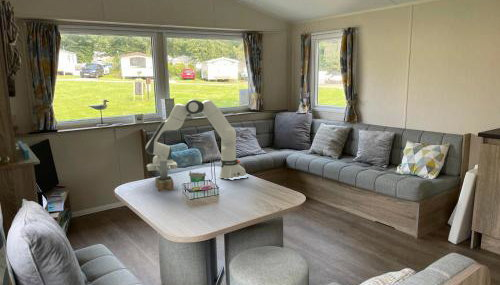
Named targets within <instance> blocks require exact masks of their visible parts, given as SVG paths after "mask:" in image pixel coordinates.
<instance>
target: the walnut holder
mask: <svg viewBox="0 0 500 285" xmlns="http://www.w3.org/2000/svg"><path fill="white" fill-rule="evenodd" d="M154 182H155V187H156V190H157V191H158V192H164V191H165V192H167V191H175V190H174V180H173V178H172V177H171V176H169V175H168V178H167V179H160V176H157V177H155V180H154Z"/></svg>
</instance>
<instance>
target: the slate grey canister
mask: <svg viewBox="0 0 500 285" xmlns="http://www.w3.org/2000/svg"><path fill="white" fill-rule="evenodd" d="M168 171H169V170H168V169H167V160H161V161H160V171H159V177H160V179H167V178H168V176H169V175H168Z"/></svg>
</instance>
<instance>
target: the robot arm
mask: <svg viewBox="0 0 500 285" xmlns="http://www.w3.org/2000/svg"><path fill="white" fill-rule="evenodd" d="M217 106H218V105H216V104H215V103H214V102H213V101H212V100H210V99H205V100H204V101H200V100H199V99H198V100H197V99H196V98H194V99H193V98H191V99H189V100H188V101H187V102H186V103H185V104H183V103H176V104H175V105H174V106H173V108H172V110H171V111H170V114H169V115H168V118H167V119H166V120H162V121H161V122H160V124H159V125H158V127H157V128H156V130H155V131H154V133H153V134H152V136H151V138H150V139H149V141H148V142H147V143H146V145H145V151H146V153H147V154H148V155H154V156H153V157H152V162H151V163H148V164H147V165H146V168H147V171H148V172H151V171H158V172H160V161H161V160H167V169H168V171H170V170H176V169H178V164H177V162H176V161H174V159H173V158H172V159H170V158H171V156H172V151H173V150H172V148H171V146H169V145H167V144H164V143H161V142H158V139H159V138H160V136H161V135H162V134H163V132H165V131H166V132H167V131H176V130H179V129H181V128H182V126H183V124H184V122H185V119H186V117H187V116H188V115H189V114H190V115H197V114H201V113H202V114H203V115H204V116H205V117H206V119H207V120H208V122H210V124H211V125H212V127H213V128H214V129H215V132H216V133H217V134H218V135H219V137H220V138H221V140H220V141H221V143H220V145H221V146H220V147H221V149H220V150H221V152H220V153H221V154H220V155H221V156H220V172H219V176H220V177H221V178H233V177H239V176H244V175H246V174H247V173H246V169H245V168H244V167H243V166H242V165H240V164H241V160H239V159H237V132H236V129H235V127H234V126H232V125H231V124H230V122H229V121H228V120H227V118H226V116H225V115H224V114H223V113H222V111H221V110H220V109H219V107H217ZM221 178H220V179H221Z"/></svg>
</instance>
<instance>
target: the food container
mask: <svg viewBox="0 0 500 285" xmlns="http://www.w3.org/2000/svg"><path fill="white" fill-rule="evenodd" d="M188 176H189V179H190V183H191V182H199V181H204V182H205V180H206V178H205V177H206V176H207V175H206V172H203V173H200V172H192V171H191V170H190V171H189V173H188Z"/></svg>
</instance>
